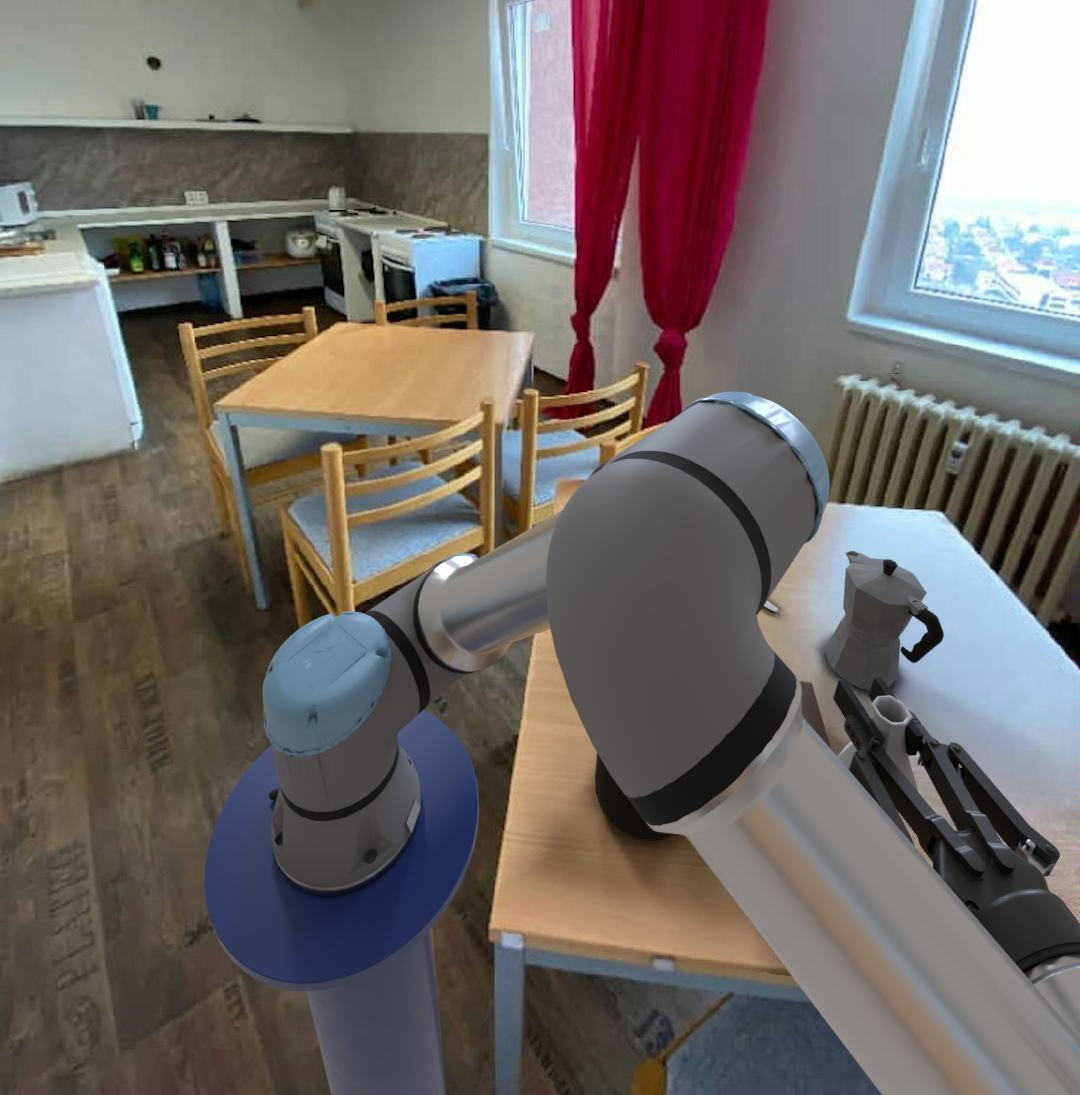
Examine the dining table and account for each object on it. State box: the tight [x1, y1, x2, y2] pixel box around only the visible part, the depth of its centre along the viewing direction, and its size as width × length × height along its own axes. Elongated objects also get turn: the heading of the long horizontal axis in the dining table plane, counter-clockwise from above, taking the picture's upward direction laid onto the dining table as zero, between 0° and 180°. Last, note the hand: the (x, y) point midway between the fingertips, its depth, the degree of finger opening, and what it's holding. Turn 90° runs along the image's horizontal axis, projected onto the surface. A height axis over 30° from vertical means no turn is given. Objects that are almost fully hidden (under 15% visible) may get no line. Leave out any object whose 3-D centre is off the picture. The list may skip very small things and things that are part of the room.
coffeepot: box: [823, 550, 945, 691], centre depth 80 cm, size 15×9×18 cm, turn 17°
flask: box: [836, 696, 919, 814], centre depth 59 cm, size 7×7×10 cm
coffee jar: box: [594, 752, 673, 841], centre depth 64 cm, size 11×11×18 cm
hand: (857, 688), depth 63 cm, fingers closed on flask, 3 cm apart
